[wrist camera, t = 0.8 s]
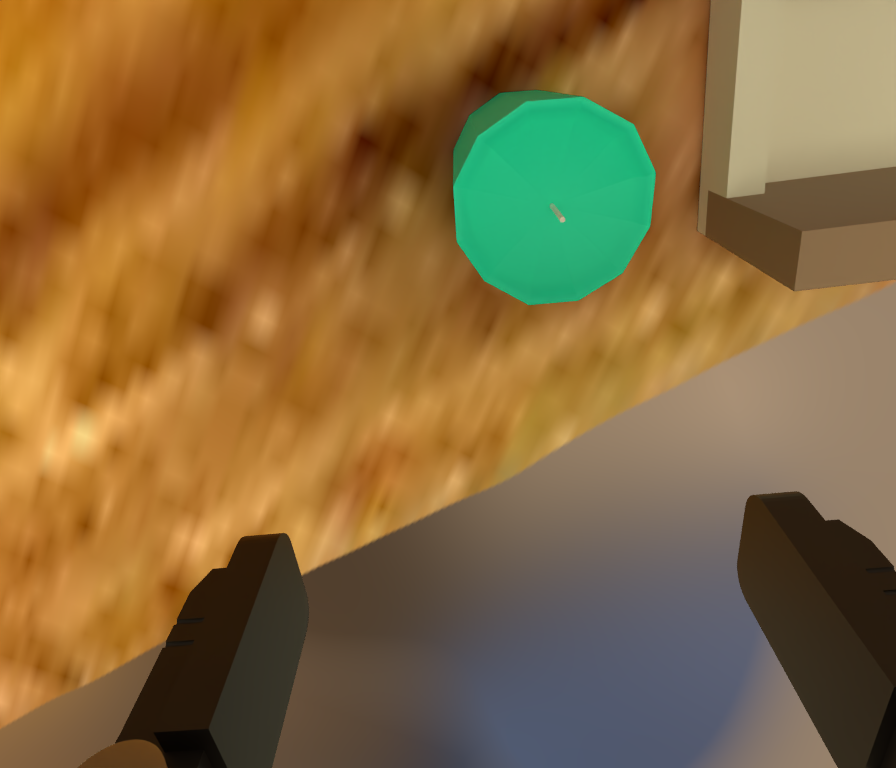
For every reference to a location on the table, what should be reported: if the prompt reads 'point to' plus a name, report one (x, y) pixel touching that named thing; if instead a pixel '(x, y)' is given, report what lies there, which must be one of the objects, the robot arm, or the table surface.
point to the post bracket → (802, 139)
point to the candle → (550, 194)
